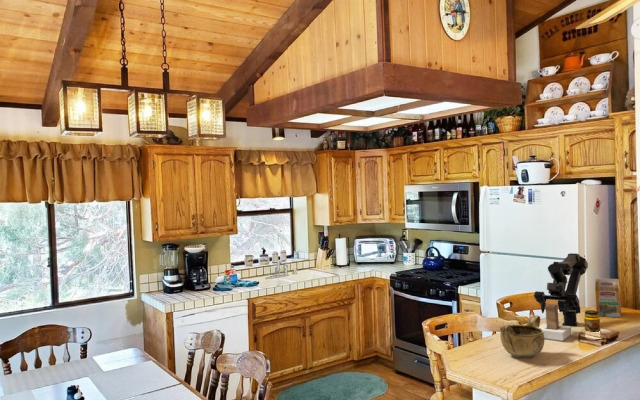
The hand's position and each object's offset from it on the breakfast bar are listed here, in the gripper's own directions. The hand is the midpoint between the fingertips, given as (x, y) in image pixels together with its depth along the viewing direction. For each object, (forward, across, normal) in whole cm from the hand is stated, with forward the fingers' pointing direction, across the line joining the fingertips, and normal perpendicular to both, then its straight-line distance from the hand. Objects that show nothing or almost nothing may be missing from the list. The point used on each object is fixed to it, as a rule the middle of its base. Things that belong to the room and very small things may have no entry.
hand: (552, 313), depth 233 cm
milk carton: (-28, +11, +44) cm, 54 cm away
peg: (+8, 0, +6) cm, 10 cm away
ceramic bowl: (+32, -1, -17) cm, 36 cm away
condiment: (+4, +14, +11) cm, 19 cm away
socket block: (+8, 0, +6) cm, 10 cm away
